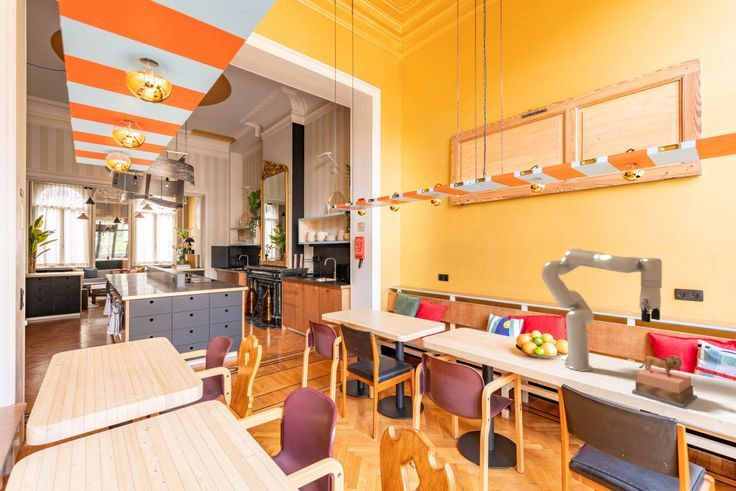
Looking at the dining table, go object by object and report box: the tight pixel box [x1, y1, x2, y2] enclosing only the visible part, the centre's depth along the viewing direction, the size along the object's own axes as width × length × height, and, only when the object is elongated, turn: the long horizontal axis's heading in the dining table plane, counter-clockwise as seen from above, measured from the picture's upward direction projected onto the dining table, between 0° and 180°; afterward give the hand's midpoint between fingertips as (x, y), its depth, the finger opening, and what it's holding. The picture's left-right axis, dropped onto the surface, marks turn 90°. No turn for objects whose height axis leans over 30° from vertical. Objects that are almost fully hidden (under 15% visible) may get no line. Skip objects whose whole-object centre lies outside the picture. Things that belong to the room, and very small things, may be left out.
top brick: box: [636, 366, 692, 393], centre depth 144 cm, size 14×14×4 cm
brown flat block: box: [635, 381, 694, 404], centre depth 144 cm, size 15×15×4 cm
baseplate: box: [631, 388, 698, 409], centre depth 144 cm, size 17×17×1 cm
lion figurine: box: [638, 355, 683, 377], centre depth 146 cm, size 15×5×9 cm, turn 37°
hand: (650, 320), depth 156 cm, fingers open, 9 cm apart
